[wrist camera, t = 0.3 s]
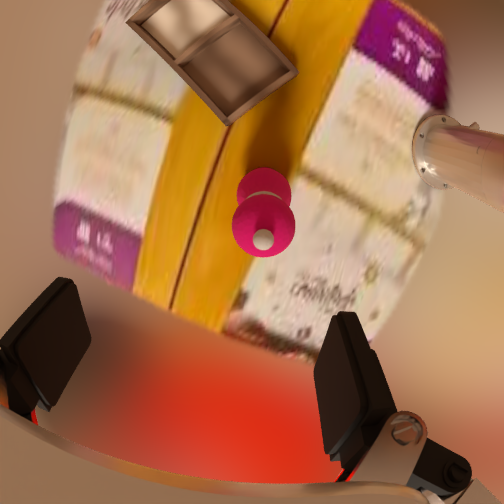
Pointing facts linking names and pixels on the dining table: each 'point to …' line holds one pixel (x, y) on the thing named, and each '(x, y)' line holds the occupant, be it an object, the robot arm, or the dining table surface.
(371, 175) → the dining table surface
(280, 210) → the pepper mill
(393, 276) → the dining table surface
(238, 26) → the caddy
